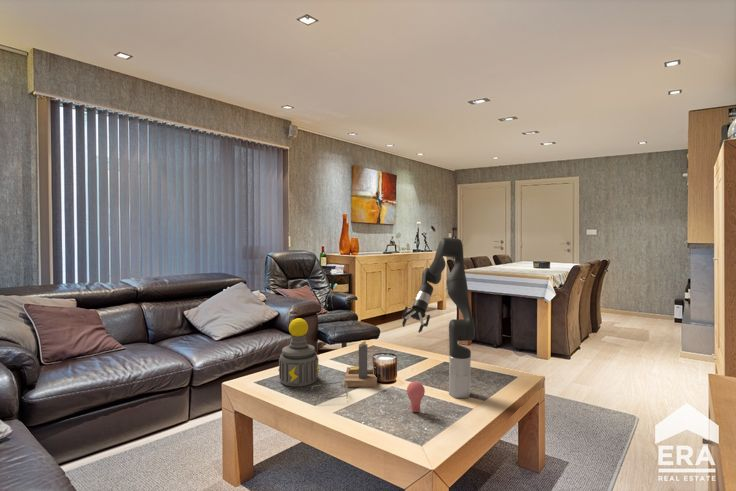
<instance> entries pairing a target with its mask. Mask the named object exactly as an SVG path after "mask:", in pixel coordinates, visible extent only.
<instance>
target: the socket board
mask: <svg viewBox="0 0 736 491" xmlns="http://www.w3.org/2000/svg"><path fill="white" fill-rule="evenodd" d="M374 368H375V367H373V366H367V378H359V366H349V367H346V370H345V375H344V379H343V380H344V381H343V383H344V382H346V383H344V385H343V387H344V388H345V385H346V386H347V388H377V386H378V376H377V377H376V376H375V375H374V374H373V371H374Z"/></svg>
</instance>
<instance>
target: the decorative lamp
mask: <svg viewBox="0 0 736 491" xmlns="http://www.w3.org/2000/svg"><path fill="white" fill-rule="evenodd" d="M308 330H309V325H308V322H307V321H306V320H305V319H303V318H298V317H297V318H295V319H292V320H291V321H290V323H289V325H288V332H289V334H290V335H291V339H290V343H289V344H288V345H286V346H284V347H283V348H282V349H281V354H280V355H279V359H278V367H279V368H278V373H279V374H278V379H279V380H280V383H281V384H282V385H284V386H288V387H292V388H293V387H294V388H298V387H300V388H301V387H306V386H310V385H312V384H313V383H315V382H317V380H318V378H319V371H320V368H319V360H320V359H319V357H318V353H317V352H316V348H315V346H314V345H311V344H308V341H307V335H306V334H307V333H308Z"/></svg>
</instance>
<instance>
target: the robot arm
mask: <svg viewBox="0 0 736 491" xmlns="http://www.w3.org/2000/svg"><path fill="white" fill-rule="evenodd" d="M445 257H446V258H454V265H453V267H452V269H451V271H450V273H448V275H447V278H446V288H447V294H448V297H449V298H450V299H451V301H452V302H453V303H454V304H455V305H456V307H457V308H458V309H459V311H460V313H461V314H462V318H463V319H457V318H456V319H451V320H449V324H448V339H449V340H448V342H449V344H448V345H449V346H448V348H449V356H448V360H449V361H448V364H449V365H448V394H449V395H450V396H452V397H453V398H454V399H469V397H470V396H471V366H472V365H471V363H472V359H471V358H472V351H471V349H470V348H468V347H465V346H463V345H461V344H460V343H458V342H461V341H462V342H469V341H473V340H474V339H475V337H476V328H475V323H474V322H475V321H474V318H473V314H472V310H471V306H470V305H471V304H470V296H469V288H468V282H467V277H466V271H465V270H466V269H465V263H464V262H465V259H464V246H463V242H462V240H461V239H459V238H453V237H450V238H449V237H444V238H441V239H440V241H439V242H438V245H437V247H436V251H435V255H434V258H433V260H432V261H431V264H430V265H429V267H426V268H425V269H423V271H422V273H421V282H420V287H419V290H418V292H417V294H416V296H415V298H414V301H413V304H412V306H411V308H409V307H408V306H405V308H404V310H403V311H402V314H401V318H402V319H403V320H402V327H404V328H405V326H406V323H407V320H410V319H413V320H416V321H419V323H420V326H419V329H418V333H419V334H420V333H422V332H423V328H424V327H426V328H427V327H428V325H429V321H430V320H431V314H426V312H427V309H428V307H429V304H430V301H431V297H432V294H433V291H434V287H433V285H437V284H439V283H440V282H441V280H442V273H443V271H444V270H445V268H446V264H447V263H446V260H445ZM430 283H431V284H433V285H431V284H430ZM407 313H409V314H407ZM406 314H407V315H406ZM424 318H425V322H424V320H423V319H424Z"/></svg>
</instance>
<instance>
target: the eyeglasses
mask: <svg viewBox="0 0 736 491" xmlns="http://www.w3.org/2000/svg"><path fill="white" fill-rule="evenodd" d="M344 380H345V379H341V380H340V381H338V382H337V381H336V382H330V383H324V384H317V385H312V386H311V391H314V390H313V388H314V387H320V386H326V385H332V384H333V385H334V384H338V383H340V386H341V389H343V384H341V382H342V381H343V383H346V382H344ZM344 388H345V393H346V394H344V395H338V396H333V397H327V398H319V399H315V401H314V406H315V405H317V404H316V403H317V401H323V400H329V399H335V398H341V397H346V398H348V397H349V396H348V387H347V386H346V385H345V387H344Z"/></svg>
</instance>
